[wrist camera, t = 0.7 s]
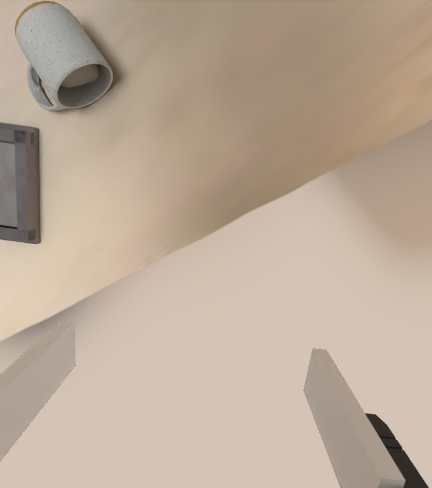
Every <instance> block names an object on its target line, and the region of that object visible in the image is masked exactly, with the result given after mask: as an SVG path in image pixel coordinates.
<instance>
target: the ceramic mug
mask: <svg viewBox="0 0 432 488" xmlns="http://www.w3.org/2000/svg"><path fill="white" fill-rule="evenodd" d="M15 34H16V38H17V41H18V43H19V45H20V47H21V49H22V51H23V53H24V55H25V56H26V58H27V59H28V61H29V65H28V69H27V80H28V85H29V88H30V91H31V93H32V95H33V97H34V98H35V100H36V101H37V103H38V104H39V105H40V106H41V107H43V108H44V109H47V110H56V111H57V110H63V109H65V108H70V109H74V108H81V107H84V106H87V105H89V104H91V103H93V102H95V101H96V100H98V99H99V98H100V97H101V96H103V95H104V94H105V93H106V91H107V90H108V89H109V87H110V85H111V83H112V81H113V72H112V69H111V67H110V65H109V64H108V63H107V61H106V60H105V58H104V57H103V56H102V54H101V53H100V51H99V50H98V48H97V47H96V46H95V44H94V43H93V41H92V40H91V39H90V37H89V36H88V34H87V33H86V31H85V30H84V29H83V27H82V26H81V24H80V23H79V21H78V20H77V19H76V18H75V17H74V16H73V15H72V14H71V12H70V11H69V10H68V9H66V8H65V7H64V6H62V5H60V4H58V3H55V2H51V1H42V2H36V3H33V4H31V5H29V6H28V7H27V8H25V9H24V10H23V11H22V13H21V14H20V15H19V17H18V19H17V21H16V25H15ZM39 77H40V79H41V80H42V82H43V83H44V85H45V86H46V88H47V90H48V91H49V93H50V94H51V96H52V97H53V99H54V100H55V101H56V102H57V104H56V105H54V106H53V105H52V104H50V102H49V101H48V99H47V98H46V96H45V94H44V93H43V91H42V88H41V87H40V83H39Z"/></svg>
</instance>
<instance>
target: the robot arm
mask: <svg viewBox="0 0 432 488" xmlns="http://www.w3.org/2000/svg"><path fill="white" fill-rule="evenodd" d="M74 367H75V323H74V322H67V321H60V322H59V323H58V324H57V325H56V326H54V327H53V328H52V329H51V330H50V331H49V332H48V333H46V334H45V335H44V336H43V337H42V338H41V339H40V340H38V342H36V343H35V344H34V345H33V346H32V347H31V348H29V349H28V350H27V351H26V352H25V353H24V354H23V355H22V356H20V357H19V358H18V359H17V360H16V361H15V362H14V363H13V364H12V365H10V366H9V367H8V368H7V369H6V370H5V371H4V372H3V373H1V374H0V461H1V460H2V459H3V457H4V456H5V455H6V454H7V452H8V451H9V450H10V448H11V447H12V446H13V445H14V443H15V442H16V441H17V440H18V438H19V437H20V436H21V435H22V433H23V432H24V431H25V429H26V428H27V427H28V426H29V424H30V423H31V422H32V420H33V419H34V418H35V417H36V415H37V414H38V413H39V412H40V410H41V409H42V408H43V406H44V405H45V404H46V403H47V401H48V400H49V399H50V397H51V396H52V395H53V394H54V392H55V391H56V390H57V388H58V387H59V386H60V385H61V383H62V382H63V381H64V380H65V378H66V377H67V376H68V374H69V373H70V372H71V371H72V369H73V368H74ZM304 393H305V396H306V398H307V401H308V404H309V406H310V409H311V411H312V414H313V417H314V419H315V422H316V425H317V427H318V430H319V433H320V435H321V438H322V440H323V443H324V446H325V448H326V451H327V453H328V456H329V459H330V461H331V464H332V467H333V469H334V472H335V474H336V477H337V480H338V482H339V485H340V488H429V487H428V486H427V484H426V483H425V481H424V480H423V478H422V477H421V476H420V474H419V472H418V471H417V469H416V468H415V467H414V465H413V463H412V462H411V460H410V459H409V457H408V456H407V454H406V453H405V451H404V450H402V447H401V445H400V444H399V442H398V441H397V440H396V439H395V436H394V435H393V433H392V432H391V430H390V429H389V427H388V426H387V425H386V424H385V423H384V422H383V421H382V420H381V419H380V418H379V417H378V416H377V415H375V414H367V413H364V411H363V409H362V408H361V406H360V405H359V403H358V401H357V399H356V398H355V396H354V395H353V393H352V391H351V390H350V388H349V386H348V385H347V383H346V381H345V380H344V378H343V376H342V375H341V373H340V371H339V370H338V368H337V366H336V365H335V363H334V361H333V360H332V358H331V356H330V355H329V353H328V352H327V350H322V349H313V350H312V354H311V359H310V363H309V368H308V372H307V377H306V381H305V386H304Z"/></svg>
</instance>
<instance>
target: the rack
mask: <svg viewBox="0 0 432 488" xmlns="http://www.w3.org/2000/svg"><path fill="white" fill-rule="evenodd" d="M0 239H2V240H9V241H16V242H24V243H31V244H38V243H40V198H39V129H37V128H33V127H26V126H19V125H12V124H5V123H0Z"/></svg>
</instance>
